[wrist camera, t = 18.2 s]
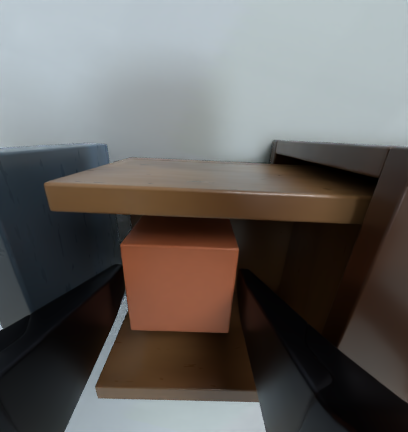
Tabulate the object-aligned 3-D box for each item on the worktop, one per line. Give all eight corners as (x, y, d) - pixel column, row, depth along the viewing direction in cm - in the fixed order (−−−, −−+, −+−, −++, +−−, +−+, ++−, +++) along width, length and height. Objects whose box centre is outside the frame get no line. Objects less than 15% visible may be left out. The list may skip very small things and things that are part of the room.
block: (220, 271, 12) (228, 334, 9) (153, 269, 12) (130, 331, 8) (226, 208, 11) (239, 248, 7) (149, 205, 11) (119, 244, 7)
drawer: (44, 290, 14) (-78, 408, 8) (-5, 138, 11) (-304, 141, 4) (279, 298, 15) (335, 417, 8) (314, 153, 11) (462, 177, 5)
